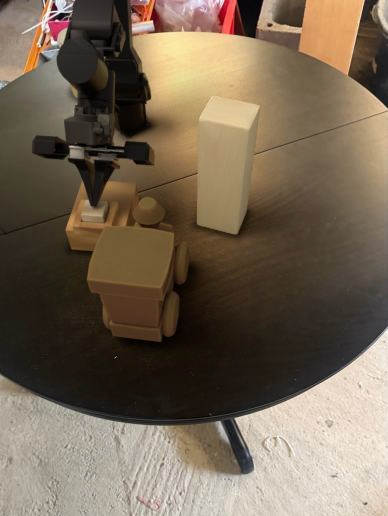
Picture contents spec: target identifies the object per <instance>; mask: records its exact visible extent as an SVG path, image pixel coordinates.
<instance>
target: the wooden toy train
mask: <svg viewBox="0 0 388 516" xmlns="http://www.w3.org/2000/svg"><path fill="white" fill-rule="evenodd" d="M165 214H166V211H165V209H164V207H163V206H162V205H161V204H160V203H159V202H158V201H157V200H156V199H154V198H153V197H150V196H146V197H143V198H141V199H140V200H139V203H138V204H137V206H136V207H135V209H134V211H133V217H134V219H135V222H134V226H133V227H131V226H105V227H104V229H103V231H102V233H101V234H100V236H99V238H98V240H97V243H96V246H95V248H94V251H92V254H91V257H90V260H89V263H88V270H87V276H86V282H87V284H88V288H89V292H90V293H92V294H98V295H99V297H100V301H101V303H102V321H103V324H104V326H105V327H106V328H107V329H108V330H110V331H111V334H112V337H119V338H125V339H126V338H127V339H135V340H143V341H151V342H157V343H158V342H160V343H161V342H162V341H163V336H165V337H167V338H170V337H173V336H174V335H175V333H176V330H177V326H178V322H179V321H178V320H179V316H180V315H179V313H180V296H179V293H178V292H176V291H174V290H173V289H174V285H175V284H176V285H179V286H180V285H183V284H184V283H185V282H186V280H187V276H188V271H189V265H190V245H189V244H188V243H187V242H186V241H180V242H175V239H176V238H175V230H174V227H173V224H170V223H165V222H162V221H163V219H164V217H165Z"/></svg>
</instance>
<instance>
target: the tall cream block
mask: <svg viewBox="0 0 388 516" xmlns="http://www.w3.org/2000/svg"><path fill="white" fill-rule="evenodd" d="M260 113H261V105H259V104H257V103H251V102H248V101H247V102H246V101H241V100H236V99H231V98H227V97H222V96H218V95H211V97H210V98H209V100H208V101H207V103H206V105H205V107H204V109H203V110H202V112H201V114H200V115H199V118H198V122H197V123H198V126H197V127H198V129H197V133H198V135H197V181H196V182H197V185H196V186H197V189H196V190H197V191H196V225H197V226H200V227H203V228H207V229H211V230H215V231H219V232H223V233H227V234H231V235H238V234H239V231H240V229H241V226H242V224H243V221H244V219H245V217H246V214H247V210H248V206H249V205H248V204H249V196H250V189H251V181H252V175H253V167H254V160H255V159H254V158H255V153H256V144H257V138H258V137H257V136H258V129H259V121H260Z"/></svg>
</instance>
